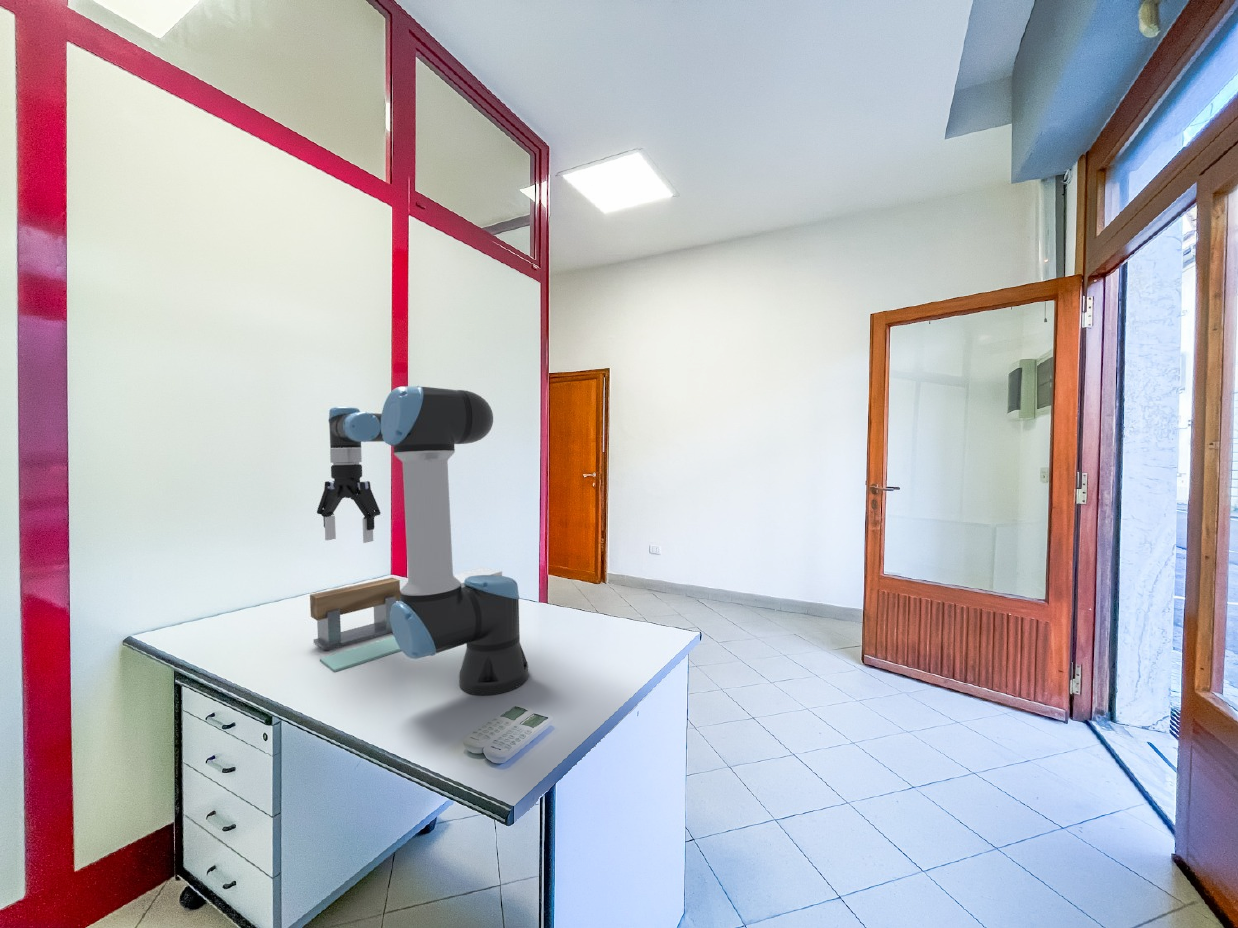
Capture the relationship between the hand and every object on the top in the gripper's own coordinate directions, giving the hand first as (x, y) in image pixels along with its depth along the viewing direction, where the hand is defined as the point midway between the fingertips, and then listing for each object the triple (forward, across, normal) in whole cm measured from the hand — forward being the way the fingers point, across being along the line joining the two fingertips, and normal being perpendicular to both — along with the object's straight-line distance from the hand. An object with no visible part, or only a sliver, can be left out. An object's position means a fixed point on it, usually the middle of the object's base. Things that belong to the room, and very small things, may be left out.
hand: (349, 540), depth 137 cm
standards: (+28, 0, -2) cm, 28 cm away
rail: (+20, 0, -2) cm, 20 cm away
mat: (+28, -13, +4) cm, 31 cm away
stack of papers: (+28, -13, -27) cm, 41 cm away
